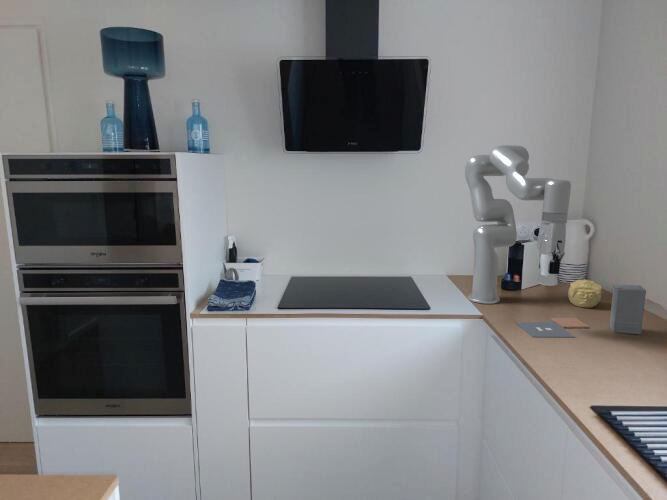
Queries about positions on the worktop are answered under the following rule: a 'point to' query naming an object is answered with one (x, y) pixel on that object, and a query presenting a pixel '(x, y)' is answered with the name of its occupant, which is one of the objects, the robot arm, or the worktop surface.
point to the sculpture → (584, 293)
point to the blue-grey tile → (544, 329)
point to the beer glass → (546, 266)
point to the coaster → (569, 323)
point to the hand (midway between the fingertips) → (548, 270)
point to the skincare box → (627, 308)
